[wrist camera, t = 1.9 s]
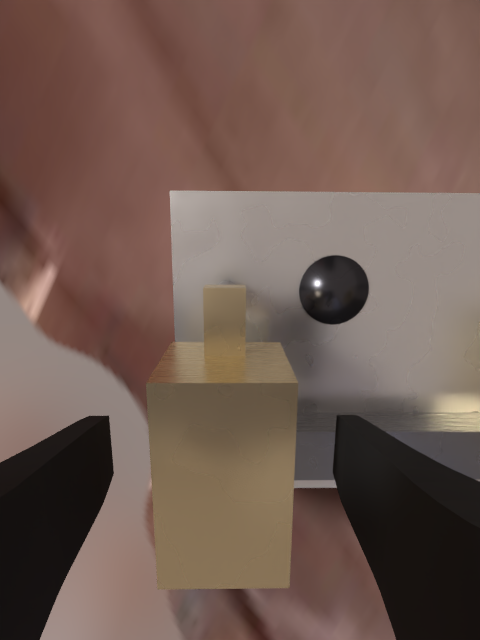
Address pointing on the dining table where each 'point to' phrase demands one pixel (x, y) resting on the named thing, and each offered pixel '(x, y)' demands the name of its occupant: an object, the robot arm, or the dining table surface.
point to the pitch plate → (349, 308)
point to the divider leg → (223, 454)
